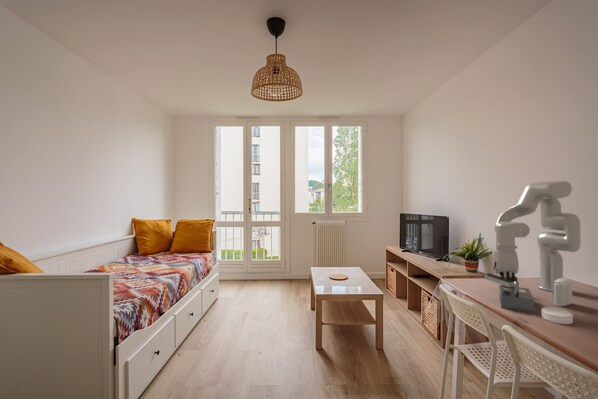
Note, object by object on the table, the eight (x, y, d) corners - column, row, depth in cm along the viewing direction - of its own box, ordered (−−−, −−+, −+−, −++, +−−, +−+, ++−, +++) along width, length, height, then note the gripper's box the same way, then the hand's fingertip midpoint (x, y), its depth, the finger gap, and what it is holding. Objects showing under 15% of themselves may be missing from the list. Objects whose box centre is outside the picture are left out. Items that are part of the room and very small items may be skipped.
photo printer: (562, 300, 140) (562, 276, 140) (573, 303, 136) (573, 278, 136) (551, 304, 136) (551, 278, 136) (562, 307, 132) (562, 281, 132)
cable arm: (484, 278, 147) (484, 273, 147) (489, 278, 148) (489, 272, 148) (509, 287, 134) (508, 280, 134) (514, 286, 134) (514, 280, 134)
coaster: (541, 312, 127) (541, 305, 127) (571, 318, 121) (571, 310, 121) (541, 320, 120) (541, 312, 120) (574, 327, 113) (574, 318, 113)
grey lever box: (499, 296, 148) (498, 272, 148) (528, 300, 142) (528, 275, 142) (501, 307, 133) (500, 281, 133) (534, 313, 126) (533, 285, 126)
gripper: (515, 246, 144) (516, 282, 145) (485, 247, 145) (486, 283, 145) (526, 249, 137) (527, 287, 137) (495, 250, 137) (495, 287, 138)
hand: (506, 285), depth 141 cm, fingers closed
